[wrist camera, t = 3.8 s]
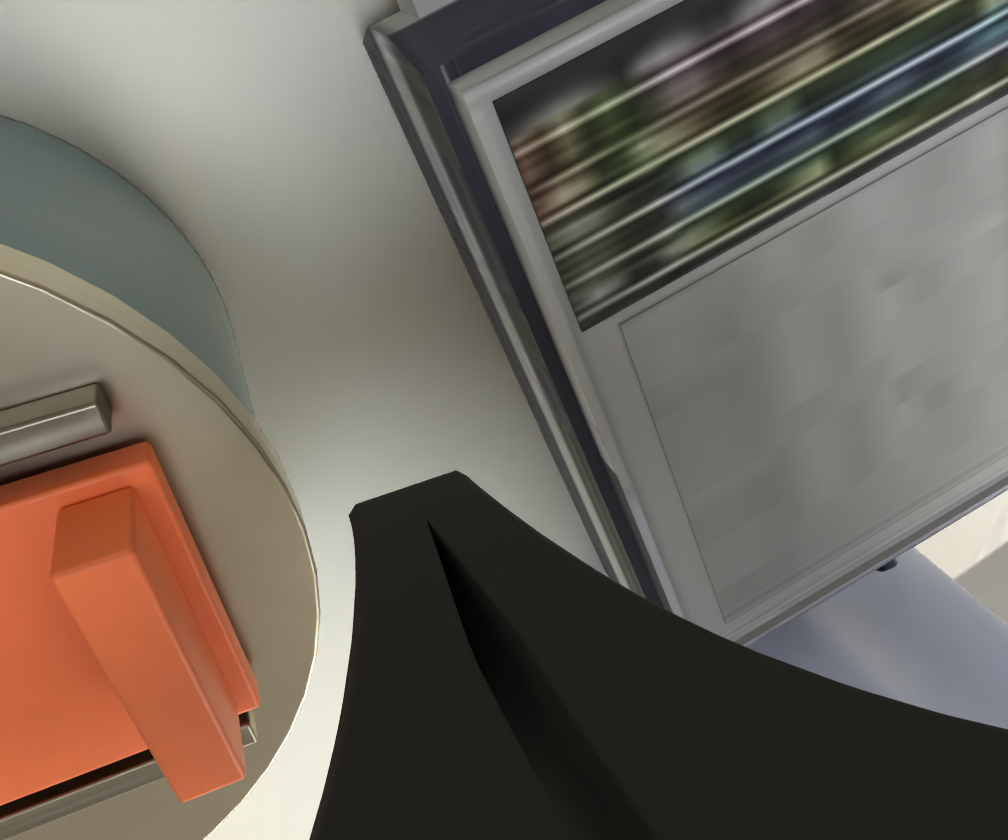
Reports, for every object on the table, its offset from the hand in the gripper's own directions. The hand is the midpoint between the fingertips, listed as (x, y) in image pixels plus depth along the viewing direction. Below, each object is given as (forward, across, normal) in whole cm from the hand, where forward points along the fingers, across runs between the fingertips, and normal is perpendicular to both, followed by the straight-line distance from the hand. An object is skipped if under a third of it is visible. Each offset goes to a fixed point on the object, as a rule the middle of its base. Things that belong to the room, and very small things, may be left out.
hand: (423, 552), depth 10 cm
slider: (+1, +5, 0) cm, 5 cm away
